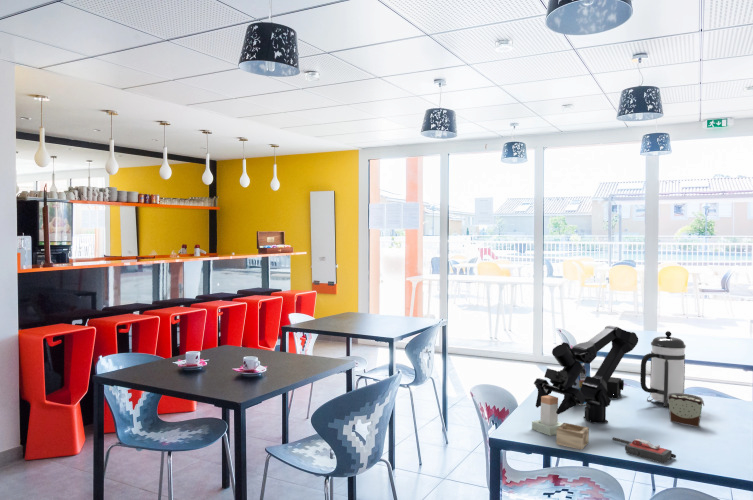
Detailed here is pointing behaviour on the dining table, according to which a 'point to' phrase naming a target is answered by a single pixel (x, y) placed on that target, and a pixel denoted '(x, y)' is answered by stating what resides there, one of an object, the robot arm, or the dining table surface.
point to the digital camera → (614, 387)
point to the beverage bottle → (580, 380)
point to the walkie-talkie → (647, 450)
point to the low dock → (545, 427)
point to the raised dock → (572, 435)
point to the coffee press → (664, 368)
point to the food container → (685, 408)
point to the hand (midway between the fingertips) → (546, 410)
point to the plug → (549, 410)
